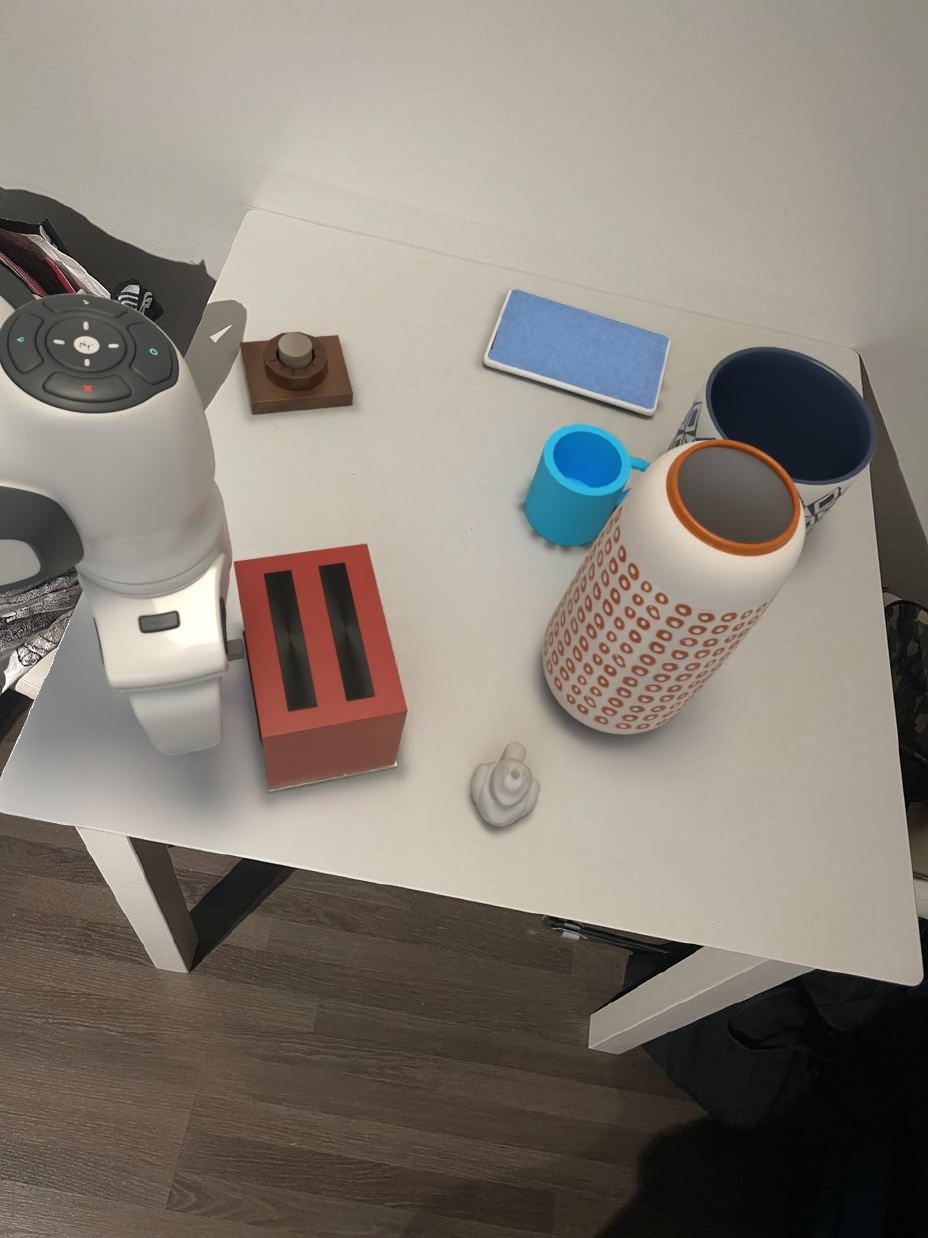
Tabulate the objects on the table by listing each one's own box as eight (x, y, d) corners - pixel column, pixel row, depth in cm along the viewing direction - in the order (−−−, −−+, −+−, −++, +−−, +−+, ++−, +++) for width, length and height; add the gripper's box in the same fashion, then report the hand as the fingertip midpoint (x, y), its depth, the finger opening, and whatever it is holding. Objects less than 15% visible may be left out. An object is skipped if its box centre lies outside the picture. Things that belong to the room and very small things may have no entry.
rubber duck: (458, 821, 69) (474, 791, 62) (479, 746, 72) (496, 710, 65) (523, 841, 69) (545, 814, 62) (540, 765, 72) (564, 732, 65)
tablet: (479, 367, 93) (481, 358, 91) (508, 291, 99) (510, 282, 98) (651, 422, 93) (656, 414, 91) (669, 343, 99) (673, 334, 98)
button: (281, 370, 84) (281, 357, 83) (276, 346, 86) (276, 333, 84) (314, 368, 85) (314, 355, 84) (309, 344, 86) (308, 330, 85)
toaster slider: (173, 683, 65) (167, 666, 62) (170, 655, 66) (163, 637, 63) (246, 671, 66) (244, 654, 63) (242, 643, 67) (239, 625, 64)
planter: (662, 427, 92) (717, 324, 80) (804, 473, 92) (880, 377, 80) (637, 544, 85) (693, 450, 72) (792, 594, 85) (874, 509, 72)
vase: (693, 743, 75) (874, 579, 51) (546, 758, 73) (662, 593, 48) (655, 609, 81) (800, 404, 57) (518, 618, 79) (608, 408, 54)
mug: (536, 550, 83) (556, 499, 75) (515, 481, 86) (533, 427, 79) (651, 537, 85) (681, 487, 78) (626, 471, 89) (653, 417, 82)
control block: (252, 414, 85) (249, 389, 82) (240, 354, 89) (238, 328, 86) (352, 404, 88) (353, 380, 85) (337, 346, 91) (338, 321, 88)
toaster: (268, 794, 68) (258, 740, 57) (242, 633, 74) (229, 558, 63) (397, 767, 70) (411, 712, 60) (362, 614, 77) (369, 539, 66)
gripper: (84, 414, 54) (129, 534, 67) (109, 711, 46) (155, 788, 58) (188, 403, 56) (213, 523, 68) (230, 689, 47) (251, 769, 59)
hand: (187, 647), depth 63 cm, fingers open, 8 cm apart
